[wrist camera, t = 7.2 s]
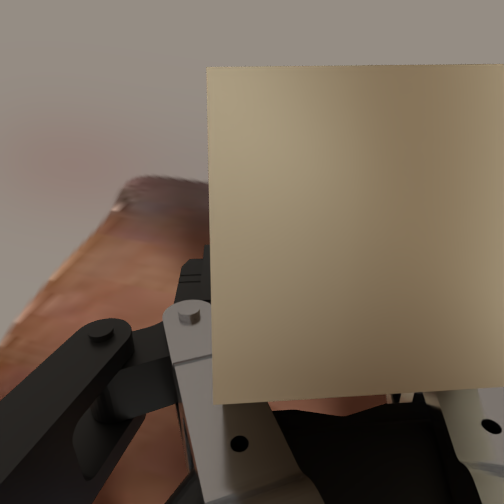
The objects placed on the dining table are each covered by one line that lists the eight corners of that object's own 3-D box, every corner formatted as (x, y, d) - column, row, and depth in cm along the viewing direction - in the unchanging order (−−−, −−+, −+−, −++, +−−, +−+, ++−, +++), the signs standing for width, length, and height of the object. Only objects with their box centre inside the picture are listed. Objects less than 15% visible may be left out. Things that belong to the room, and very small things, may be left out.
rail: (298, 310, 22) (509, 61, 5) (305, 384, 21) (629, 384, 4) (228, 314, 22) (202, 64, 5) (230, 389, 20) (207, 411, 3)
